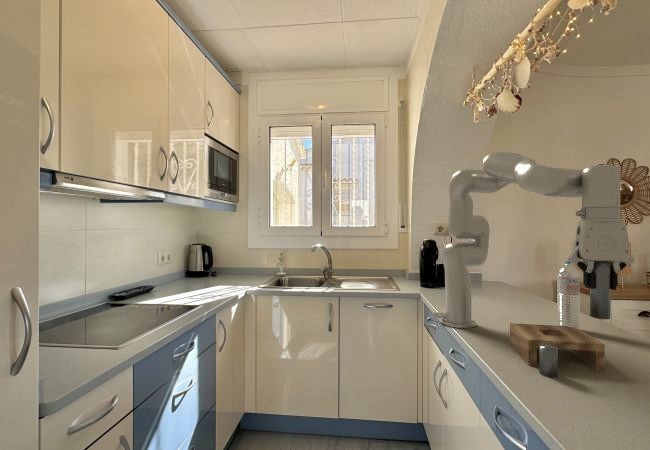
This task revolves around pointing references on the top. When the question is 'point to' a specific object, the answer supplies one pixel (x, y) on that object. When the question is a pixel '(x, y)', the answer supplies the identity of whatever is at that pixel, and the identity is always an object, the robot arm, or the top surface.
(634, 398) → the top surface
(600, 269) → the long pin
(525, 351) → the bridge
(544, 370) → the short pin
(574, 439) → the top surface
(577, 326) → the water bottle
